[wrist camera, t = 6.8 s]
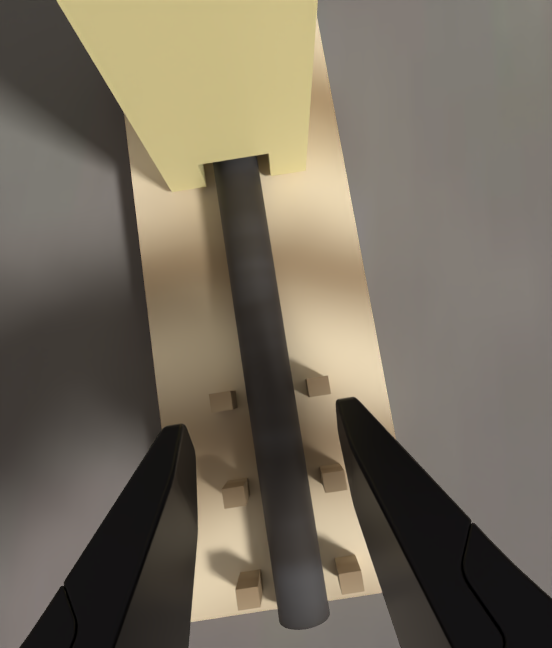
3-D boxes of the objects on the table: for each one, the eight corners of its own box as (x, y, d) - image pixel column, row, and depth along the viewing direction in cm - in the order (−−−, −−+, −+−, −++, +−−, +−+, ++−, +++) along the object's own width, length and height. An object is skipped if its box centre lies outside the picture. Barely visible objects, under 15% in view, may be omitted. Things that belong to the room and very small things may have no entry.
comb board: (414, 572, 17) (457, 636, 12) (192, 606, 17) (157, 682, 12) (312, 22, 20) (318, -81, 15) (124, 53, 20) (78, -41, 16)
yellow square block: (305, 170, 17) (323, -88, 8) (172, 192, 17) (32, -39, 8) (284, 48, 18) (278, -321, 9) (155, 69, 18) (10, -276, 9)
